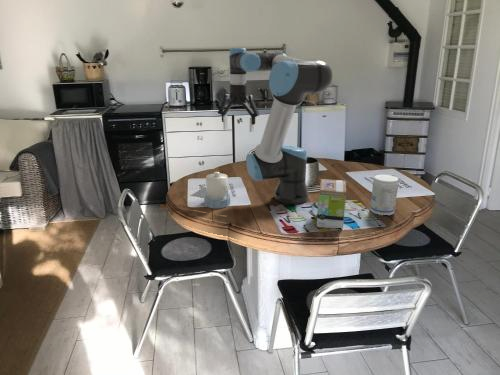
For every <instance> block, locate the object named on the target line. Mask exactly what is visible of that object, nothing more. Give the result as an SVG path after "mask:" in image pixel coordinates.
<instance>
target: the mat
mask: <svg viewBox="0 0 500 375" xmlns="http://www.w3.org/2000/svg"><path fill="white" fill-rule="evenodd" d="M205 195H206V187H203V188H201V189H199V190H197V191H196V192H194V193H192V194H190V196H191V197H195V198H196V197H197V198H203V199H204V196H205Z"/></svg>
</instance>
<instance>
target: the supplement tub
mask: <svg viewBox="0 0 500 375" xmlns="http://www.w3.org/2000/svg"><path fill="white" fill-rule="evenodd" d="M398 189H399V177H396V176H394V175H391V174H377V175H375V176H374V177H373V182H372V189H371V190H372V192H371V198H370V208H369V209H370V211H371V212H372V213H373V214H375V215H377V214H378V216H383V215H388V216H391V215H393V214H394V213H395V210H396V204H397V203H396V202H397V197H398V196H397V195H398Z"/></svg>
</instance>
